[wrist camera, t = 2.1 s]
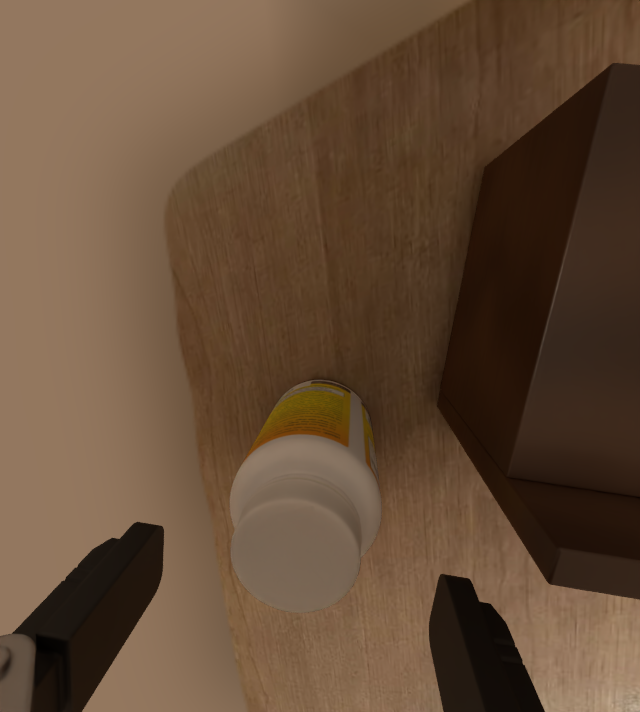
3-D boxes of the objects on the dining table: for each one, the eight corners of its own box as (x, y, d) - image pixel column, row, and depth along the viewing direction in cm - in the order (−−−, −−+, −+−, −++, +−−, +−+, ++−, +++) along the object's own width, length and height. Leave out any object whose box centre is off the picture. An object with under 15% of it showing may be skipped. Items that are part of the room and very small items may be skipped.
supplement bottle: (252, 418, 21) (165, 544, 11) (326, 356, 20) (300, 436, 10) (317, 487, 22) (288, 664, 12) (392, 431, 21) (428, 575, 11)
